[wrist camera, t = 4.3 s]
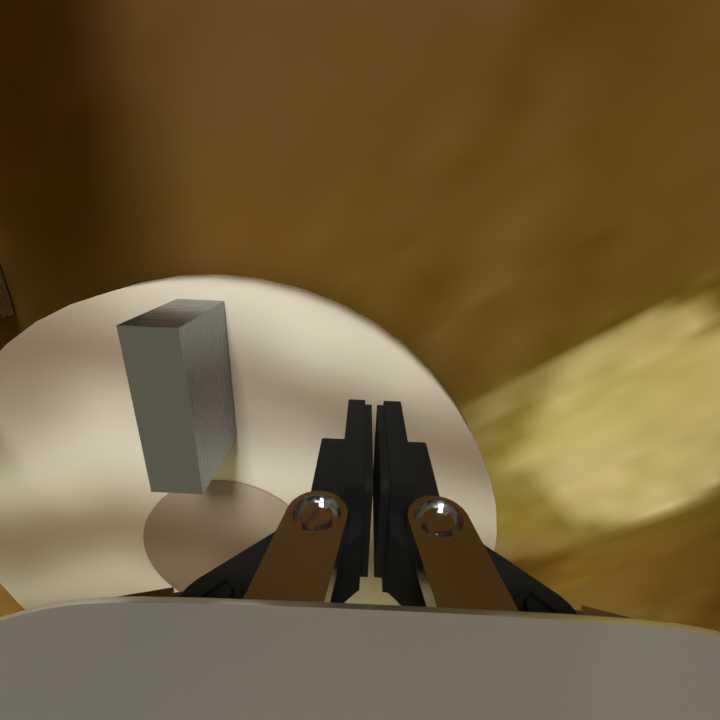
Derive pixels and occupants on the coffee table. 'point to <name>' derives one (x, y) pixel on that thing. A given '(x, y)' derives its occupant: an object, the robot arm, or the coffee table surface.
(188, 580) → the turntable
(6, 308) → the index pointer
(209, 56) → the coffee table surface
